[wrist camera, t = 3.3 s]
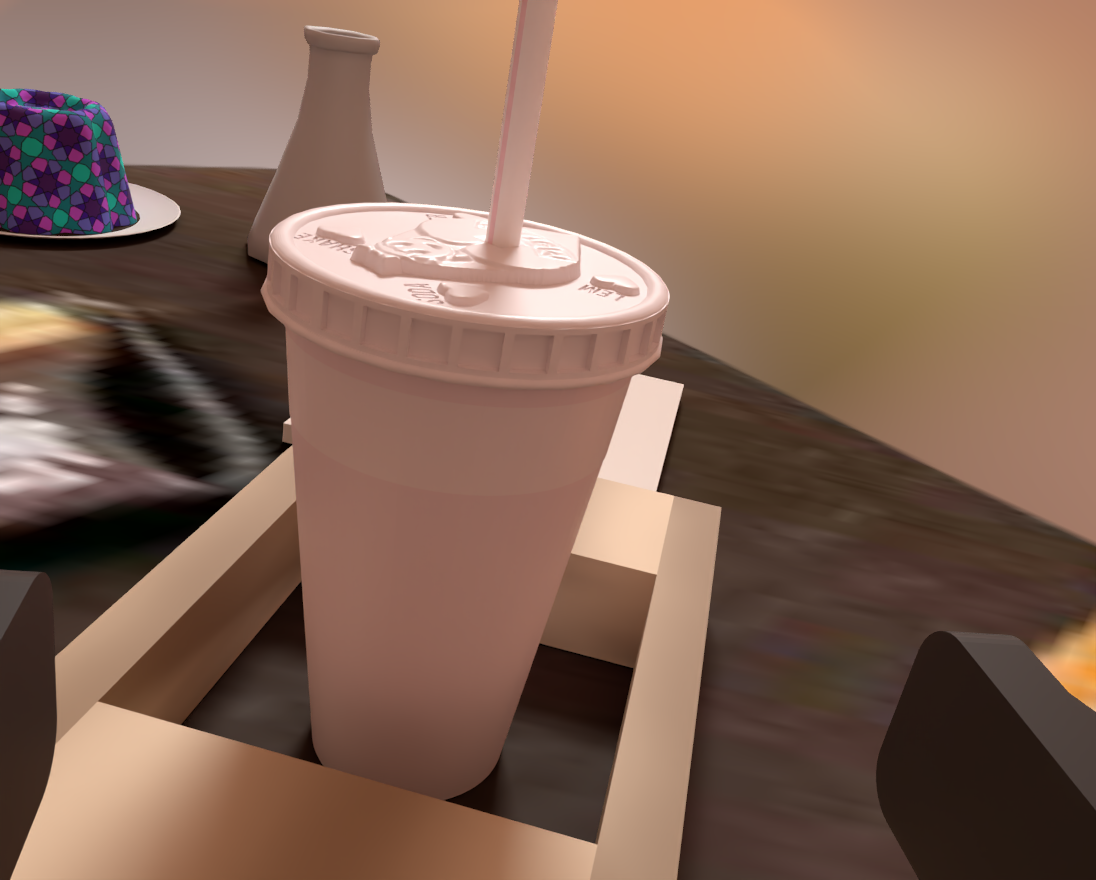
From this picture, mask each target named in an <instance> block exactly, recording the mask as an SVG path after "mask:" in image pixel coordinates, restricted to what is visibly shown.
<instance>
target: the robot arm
mask: <svg viewBox="0 0 1096 880" xmlns="http://www.w3.org/2000/svg"><path fill="white" fill-rule="evenodd" d="M56 733H57V700H56V672H55V645H54V617H53V594H52V587H51V582H50V579H49V577H48V575H47V574H46V573H43V572H28V571H12V570H0V880H10V879H11V876H12V874H13V871H14V869H15V866H16V864H17V861H18V859H19V856H20V854H21V851H22V849H23V846H24V844H25V841H26V839H27V836H28V834H29V831H30V829H31V826H32V824H33V821H34V819H35V816H36V814H37V811H38V809H39V806H40V804H41V801H42V799H43V796H44V793H45V790H46V787H47V784H48V780H49V776H50V772H51V767H52V762H53V757H54V750H55V743H56ZM876 783H877V792H878V798H879V802H880V806H881V809H882V812H883V815H884V817H885V819H886V821H887V823H888V825H889V827H890V828H891V830H892V832H893V834H894V836H895V837H896V839H897V841H898V843H899V844H900V846H901V848H902V850H903V852H904V853H905V855H906V857H907V859H908V861H909V862H910V864H911V866H912V868H913V870H914V871H915V873H916V875H917V877H918V878H919V880H1096V712H1095V711H1093V710H1092V709H1091V708H1089V707H1088V706H1086V705H1085V704H1084V703H1082V702H1081V701H1080V700H1078V699H1077V698H1075V697H1074V696H1073V695H1071V694H1070V693H1069V692H1068V691H1067V690H1066V689H1065V688H1064V687H1063V686H1062V685H1061V684H1060V682H1059V681H1058V680H1057V679H1056V678H1055V677H1054V676H1053V675H1052V673H1051V672H1050V671H1049V670H1048V669H1047V668H1046V667H1045V666H1044V665H1043V663H1042V662H1041V661H1040V660H1039V659H1038V658H1037V657H1036V656H1035V654H1034V653H1033V652H1032V651H1031V650H1030V649H1029V648H1028V647H1027V646H1026V645H1025V644H1024V643H1023V642H1022V641H1021V640H1019V639H1018V638H1016V637H1014V636H1010V635H998V634H982V633H966V632H949V631H937V632H934V633H932V634H931V635H929V636H928V637H927V638H926V639H925V640H924V642H923V643H922V645H921V647H920V649H919V651H918V653H917V656H916V658H915V661H914V664H913V666H912V669H911V671H910V674H909V677H908V679H907V682H906V684H905V687H904V690H903V692H902V695H901V697H900V700H899V702H898V705H897V708H896V710H895V713H894V715H893V718H892V721H891V723H890V726H889V728H888V731H887V734H886V736H885V739H884V741H883V744H882V747H881V749H880V753H879V756H878V761H877V770H876Z"/></svg>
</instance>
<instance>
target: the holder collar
mask: <svg viewBox="0 0 1096 880" xmlns="http://www.w3.org/2000/svg"><path fill="white" fill-rule="evenodd" d="M720 515H721V507H717V506H713V505H709V504H705V503H701V502H697V501H693V500H688V499H684V498H680V497H676V496H672V495H668V494H664V493H660V492H656V491H651V490H647V489H643V488H639V487H635V486H631V485H627V484H623V483H618V482H614V481H610V480H606V479H602V478H598V477H597V480H596V483H595V486H594V489H593V492H592V495H591V497H590V500H589V503H588V506H587V509H586V512H585V514H584V517H583V520H582V523H581V526H580V529H579V532H578V534H577V537H576V540H575V543H574V546H573V549H572V551H571V554H570V557H569V560H568V563H567V566H566V569H565V571H564V574H563V577H562V580H561V583H560V586H559V589H558V591H557V594H556V597H555V600H554V603H553V606H552V608H551V611H550V614H549V617H548V620H547V623H546V626H545V628H544V631H543V634H542V637H541V640H540V644H544V645H548V646H551V647H555V648H559V649H563V650H567V651H570V652H574V653H578V654H582V655H585V656H589V657H593V658H597V659H601V660H604V661H608V662H612V663H616V664H619V665H623V666H627V667H631V668H634V670H633V675H632V679H631V684H630V688H629V693H628V697H627V702H626V706H625V711H624V715H623V720H622V724H621V729H620V733H619V738H618V742H617V746H616V751H615V755H614V760H613V764H612V769H611V773H610V778H609V782H608V787H607V791H606V796H605V800H604V805H603V809H602V814H601V818H600V823H599V827H598V832H597V836H596V841H595V844H593V843H590V842H586V841H583V840H579V839H576V838H572V837H569V836H565V835H562V834H558V833H555V832H551V831H548V830H544V829H541V828H538V827H534V826H531V825H527V824H524V823H520V822H517V821H513V820H510V819H506V818H503V817H499V816H496V815H492V814H489V813H485V812H482V811H478V810H475V809H471V808H468V807H464V806H461V805H457V804H454V803H450V802H447V801H443V800H440V799H436V798H433V797H429V796H426V795H422V794H419V793H415V792H412V791H408V790H405V789H401V788H398V787H394V786H391V785H388V784H384V783H381V782H377V781H374V780H370V779H367V778H363V777H360V776H356V775H353V774H349V773H346V772H342V771H339V770H335V769H332V768H328V767H325V766H321V765H318V764H314V763H311V762H307V761H304V760H300V759H297V758H293V757H290V756H286V755H283V754H279V753H276V752H272V751H269V750H265V749H262V748H258V747H255V746H251V745H248V744H244V743H241V742H238V741H234V740H231V739H227V738H224V737H220V736H217V735H213V734H210V733H206V732H203V731H199V730H196V729H192V728H189V727H185V726H182V725H181V724H182V723H183V722H184V720H185V719H186V718H187V717H188V716H189V714H190V713H191V712H192V711H193V710H194V708H195V707H196V706H197V705H198V704H199V702H200V701H201V700H202V699H203V698H204V696H205V695H206V694H207V693H208V692H209V690H210V689H211V688H212V687H213V686H214V684H215V683H216V682H217V681H218V680H219V679H220V677H221V676H222V675H223V674H224V673H225V671H226V670H227V669H228V668H229V667H230V665H231V664H232V663H233V662H234V661H235V659H236V658H237V657H238V656H239V655H240V653H241V652H242V651H243V650H244V649H245V647H246V646H247V645H248V644H249V643H250V642H251V640H252V639H253V638H254V637H255V636H256V634H257V633H258V632H259V631H260V630H261V628H262V627H263V626H264V625H265V624H266V622H267V621H268V620H269V619H270V618H271V616H272V615H273V614H274V613H275V612H276V610H277V609H278V608H279V607H280V606H281V605H282V603H283V602H284V601H285V600H286V599H287V597H288V596H289V595H290V594H291V593H292V591H293V590H294V589H295V588H296V587H297V585H298V584H299V583H300V582H301V581H302V579H301V564H300V549H299V534H298V519H297V504H296V489H295V474H294V459H293V445H292V446H291V447H289V448H288V449H287V450H286V451H285V452H284V453H283V454H282V455H280V456H279V457H278V458H277V459H276V460H275V461H274V462H273V463H272V464H270V465H269V466H268V467H267V468H266V469H265V470H264V471H263V472H261V473H260V474H259V475H258V476H257V477H256V478H255V479H254V480H252V481H251V482H250V483H249V484H248V485H247V486H246V487H245V488H244V489H242V490H241V491H240V492H239V493H238V494H237V495H236V496H235V497H233V498H232V499H231V500H230V501H229V502H228V503H227V504H226V505H225V506H223V507H222V508H221V509H220V510H219V511H218V512H217V513H216V514H214V515H213V516H212V517H211V518H210V519H209V520H208V521H207V522H205V523H204V524H203V525H202V526H201V527H200V528H199V529H198V530H197V531H195V532H194V533H193V534H192V535H191V536H190V537H189V538H188V539H186V540H185V541H184V542H183V543H182V544H181V545H180V546H179V547H178V548H176V549H175V550H174V551H173V552H172V553H171V554H170V555H169V556H167V557H166V558H165V559H164V560H163V561H162V562H161V563H160V564H158V565H157V566H156V567H155V568H154V569H153V570H152V571H151V572H150V573H148V574H147V575H146V576H145V577H144V578H143V579H142V580H141V581H139V582H138V583H137V584H136V585H135V586H134V587H133V588H132V589H131V590H129V591H128V592H127V593H126V594H125V595H124V596H123V597H122V598H120V599H119V600H118V601H117V602H116V603H115V604H114V605H113V606H111V607H110V608H109V609H108V610H107V611H106V612H105V613H104V614H103V615H101V616H100V617H99V618H98V619H97V620H96V621H95V622H94V623H92V624H91V625H90V626H89V627H88V628H87V629H86V630H85V631H84V632H82V633H81V634H80V635H79V636H78V637H77V638H76V639H75V640H73V641H72V642H71V643H70V644H69V645H68V646H67V647H66V648H64V649H63V650H62V651H61V652H60V653H59V654H58V655H57V656H56V657H55V672H56V700H57V733H56V743H55V750H54V757H53V762H52V767H51V772H50V776H49V780H48V784H47V787H46V790H45V793H44V796H43V799H42V801H41V804H40V806H39V809H38V811H37V814H36V816H35V819H34V821H33V824H32V826H31V829H30V831H29V834H28V836H27V839H26V841H25V844H24V846H23V849H22V851H21V854H20V856H19V859H18V861H17V864H16V866H15V869H14V871H13V874H12V876H11V879H10V880H677V873H678V865H679V857H680V848H681V840H682V832H683V823H684V815H685V807H686V798H687V790H688V782H689V773H690V765H691V757H692V748H693V740H694V732H695V723H696V715H697V707H698V698H699V690H700V682H701V673H702V665H703V656H704V648H705V640H706V631H707V623H708V615H709V606H710V598H711V590H712V581H713V573H714V565H715V556H716V548H717V540H718V531H719V523H720Z"/></svg>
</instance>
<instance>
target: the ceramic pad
mask: <svg viewBox="0 0 1096 880" xmlns="http://www.w3.org/2000/svg"><path fill="white" fill-rule="evenodd" d="M683 386H684V385H683V384H679V383H674V382H670V381H666V380H661V379H657V378H653V377H648V376H644V375H640V374H637V375H634V376H632V378H631V382H630V385H629V388H628V391H627V394H626V397H625V400H624V403H623V406H622V409H621V412H620V415H619V418H618V421H617V424H616V427H615V430H614V433H613V436H612V439H611V442H610V445H609V448H608V451H607V454H606V457H605V459H604V460H603V463H602V466H601V469H600V472H599V475H598V478H602V479H606V480H610V481H614V482H618V483H623V484H627V485H631V486H635V487H639V488H643V489H647V490H651V491H656V492H657V488H658V484H659V480H660V476H661V472H662V468H663V464H664V461H665V457H666V453H667V449H668V445H669V441H670V437H671V433H672V430H673V426H674V422H675V418H676V414H677V410H678V406H679V402H680V398H681V394H682V390H683ZM282 442H286V443H291V444H292V429H291V417H290V418H289V419H288V420H287V421H286V422H284V426H283V441H282Z"/></svg>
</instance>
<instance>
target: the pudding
mask: <svg viewBox="0 0 1096 880" xmlns="http://www.w3.org/2000/svg"><path fill="white" fill-rule="evenodd" d="M135 210H136V211H137V212H138V213H139V214H140V220H139V222H138V223H137V224H135V225H134V226H132V227H130V228H127V229H124V230H120V231H116V232H111V233H105V232H110V231H112V230H113V227H114V226H127V225H131V224H134V223H136V222H137V217H136V213H135ZM180 213H181V211H180V208H179V206H178V205H177V204H176V203H175V202H174V201H173V200H171V199H169V198H168V197H166V196H164V195H162V194H160V193H158V192H155V191H153V190H150V189H147V188H144V187H141V186H138V185H135V184H131V183H128V181H127V177H126V173H125V169H124V165H123V162H122V157H121V153H120V149H119V145H118V141H117V137H116V133H115V129H114V126H113V123H112V120H111V118H110V117H109V115H108V113H107V112H106V110H105V108H104V107H102V106H101V105H100V104H99V103H97V102H94V101H91V100H88V99H83V98H78V97H75V96H73V95H68V94H64V93H57V92H43V91H38V90H31V89H10V90H9V89H0V227H2V228H5V229H7V230H10V231H12V232H16V233H9V232H2V231H0V235H6V236H16V237H26V238H43V239H97V238H110V237H121V236H128V235H134V234H140V233H144V232H148V231H151V230H155V229H159V228H162V227H164V226H167V225H169V224H171V223H173V222H174V221H175V220H177V219H178V218H179V216H180ZM64 232H66V233H75V234H97V235H86V236H41V235H52V234H58V233H64ZM17 233H24V234H17ZM101 233H105V234H101ZM27 234H32V235H27Z"/></svg>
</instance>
